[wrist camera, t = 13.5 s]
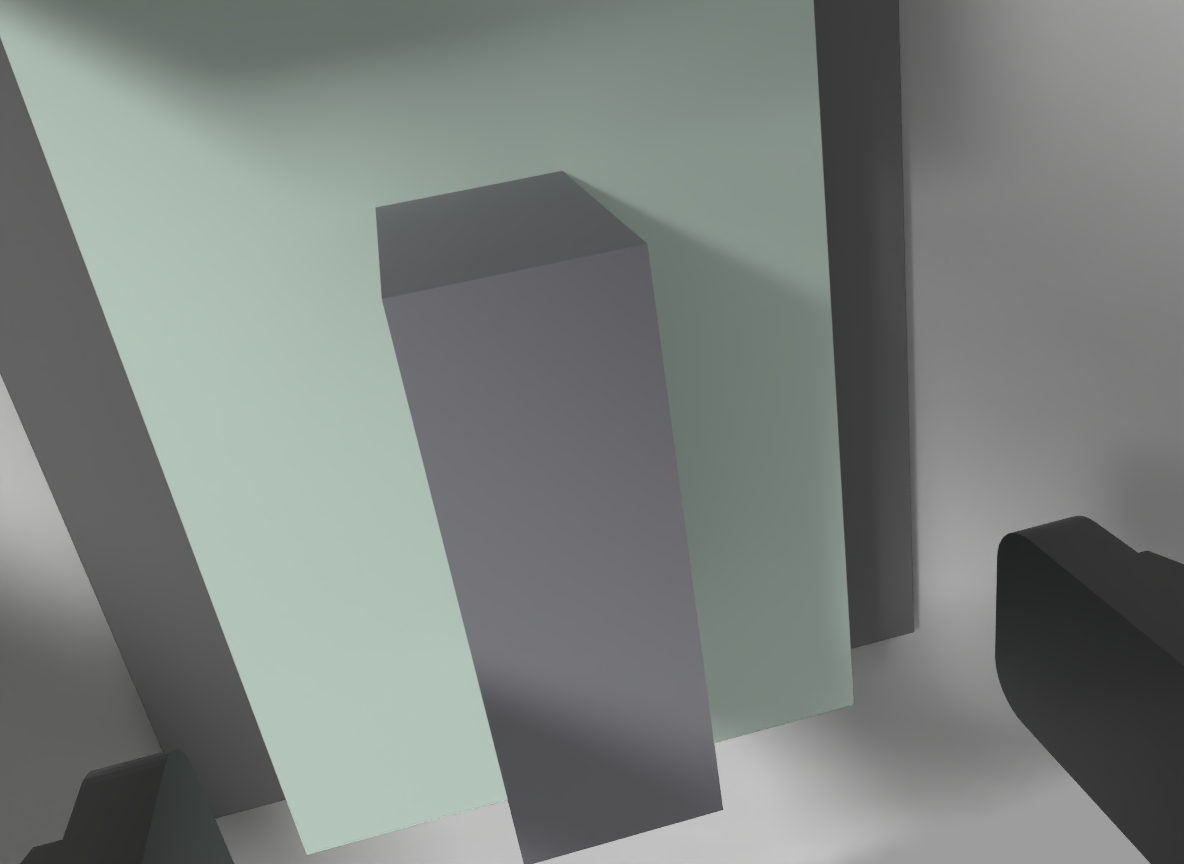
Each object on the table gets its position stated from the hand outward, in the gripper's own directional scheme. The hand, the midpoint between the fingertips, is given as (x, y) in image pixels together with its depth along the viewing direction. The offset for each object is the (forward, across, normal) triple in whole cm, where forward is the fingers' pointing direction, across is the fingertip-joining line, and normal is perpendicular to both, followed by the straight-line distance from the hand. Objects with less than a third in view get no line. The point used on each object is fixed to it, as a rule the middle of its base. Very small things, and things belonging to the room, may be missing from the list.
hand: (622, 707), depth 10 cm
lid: (+10, 0, 0) cm, 10 cm away
